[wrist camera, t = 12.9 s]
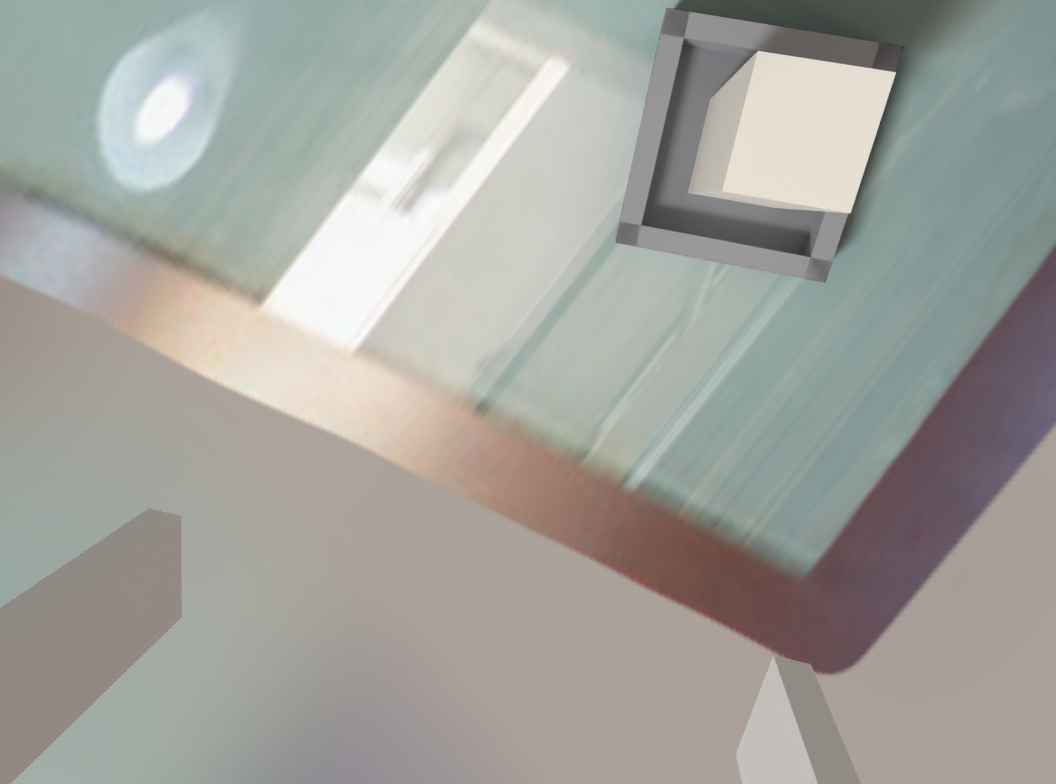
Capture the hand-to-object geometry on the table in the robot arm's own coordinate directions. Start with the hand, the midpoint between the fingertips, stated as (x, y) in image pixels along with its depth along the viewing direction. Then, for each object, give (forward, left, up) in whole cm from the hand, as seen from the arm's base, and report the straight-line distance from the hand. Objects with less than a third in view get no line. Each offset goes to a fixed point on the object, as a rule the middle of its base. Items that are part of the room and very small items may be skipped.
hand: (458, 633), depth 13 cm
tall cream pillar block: (-13, +8, -28) cm, 31 cm away
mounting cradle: (-13, +8, -29) cm, 33 cm away
